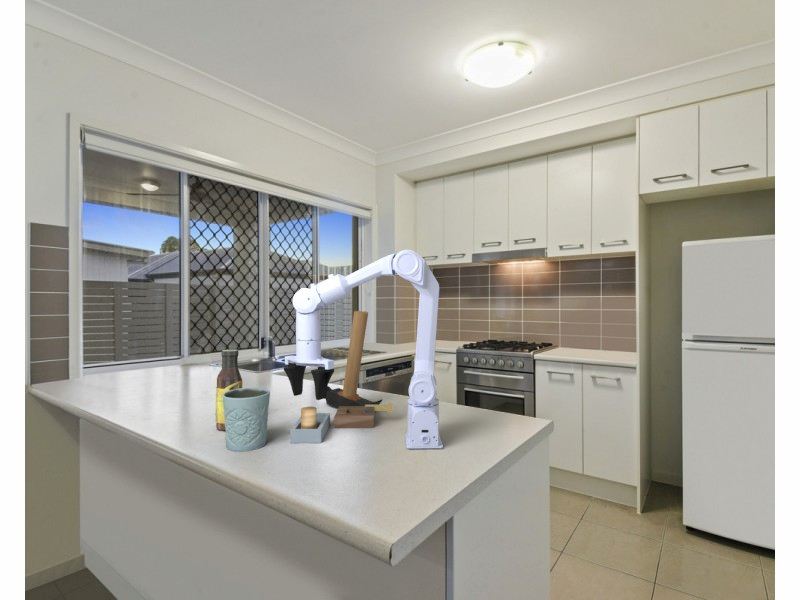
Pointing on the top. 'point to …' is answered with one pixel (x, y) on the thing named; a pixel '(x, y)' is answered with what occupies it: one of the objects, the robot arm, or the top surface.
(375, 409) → the drift key
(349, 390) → the hammer
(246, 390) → the teal embossed cup
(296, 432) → the divided storage tray
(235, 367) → the sauce bottle
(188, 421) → the top surface
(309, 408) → the dowel peg
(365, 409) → the socket block
